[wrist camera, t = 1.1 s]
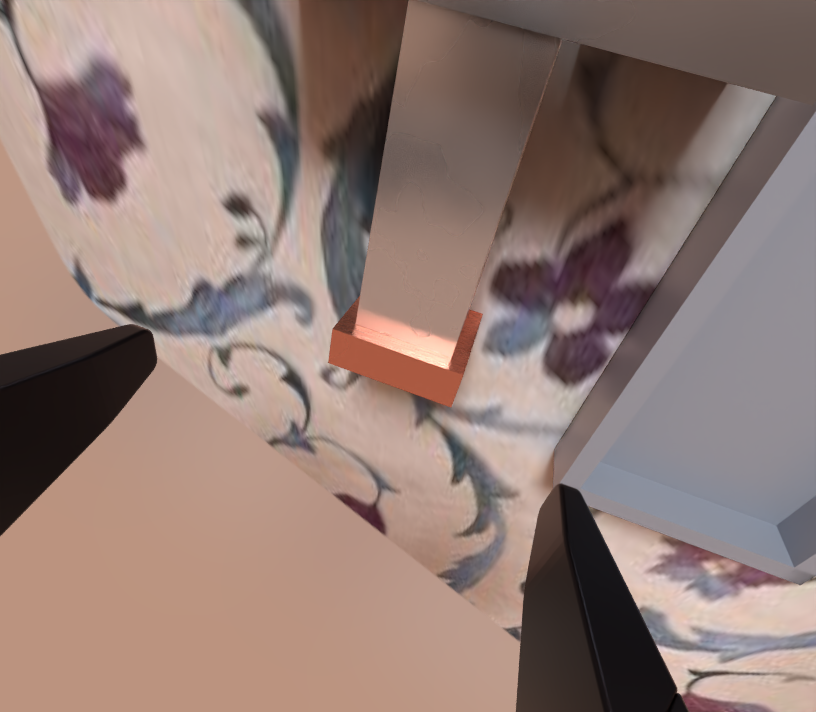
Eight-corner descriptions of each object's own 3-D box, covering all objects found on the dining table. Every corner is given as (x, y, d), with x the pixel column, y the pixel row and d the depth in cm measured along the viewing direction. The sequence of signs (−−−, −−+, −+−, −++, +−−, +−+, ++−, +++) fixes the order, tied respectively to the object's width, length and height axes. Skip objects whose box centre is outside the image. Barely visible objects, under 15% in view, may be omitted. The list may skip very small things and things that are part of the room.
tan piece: (470, -248, 10) (423, -387, 7) (675, -206, 10) (730, -335, 6) (369, 307, 19) (328, 362, 16) (471, 343, 19) (450, 407, 15)
